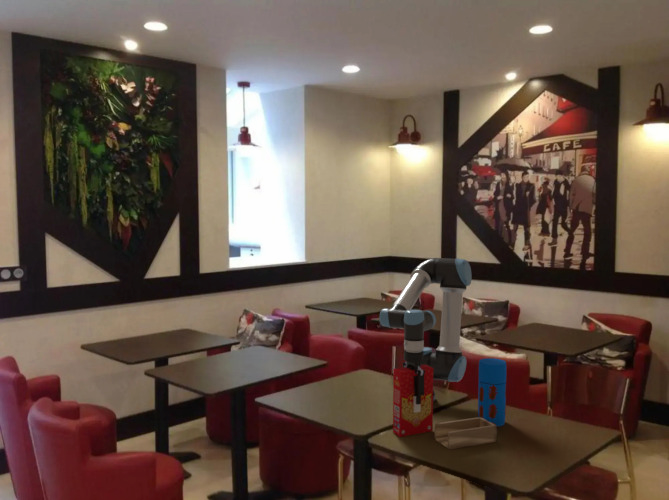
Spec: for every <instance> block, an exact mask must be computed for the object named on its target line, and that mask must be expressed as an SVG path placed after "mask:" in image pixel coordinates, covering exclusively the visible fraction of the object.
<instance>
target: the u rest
mask: <svg viewBox="0 0 669 500" xmlns="http://www.w3.org/2000/svg"><path fill="white" fill-rule="evenodd" d="M497 434H498V426H496V425H495V424H493V423H491V422H489V421H487V420H485V419H483V418H482V417H478V416H477V417H472V418H471V417H470V418H464V419H457V420H449V421H442V422H435V423H434V439H433V440H435V441H437V443H439V444H441V445H442V446H444V447H446V448H447V449H448V450H453V449H459V448H465V447H471V446H480V445H485V444H490V443H495V442H496V443H497V441H498V438H497V437H498V435H497Z"/></svg>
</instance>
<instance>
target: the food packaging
mask: <svg viewBox="0 0 669 500" xmlns="http://www.w3.org/2000/svg"><path fill="white" fill-rule="evenodd" d="M421 369H422V370H425V375H424V395H421V412H416V413H414V412H413V404H414V396H413V395H415V392H414V378H413V377H414V376H417V374H415V372H414V370H410V368H407V367H404V368H403V367H396V368H393V373H392V374H393V378H392V379H393V381H392V382H393V385H392V387H393V388H392V389H393V390H392V391H393V392H392V393H393V394H392V396H393V397H392V400H393V401H392V402H393V403H392V407H393V408H392V433H393V434H394V435H396V436H398V437H400V438H401V437H406V436H407V437H408V436H413V435H418V434H425V433H429V432H433V429H434V428H433V427H434V426H433V425H434V422H433V421H434V420H433V418H434V402H433V389H434V379H433V368H432V367H430V366H428V365H421Z"/></svg>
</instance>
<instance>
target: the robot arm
mask: <svg viewBox="0 0 669 500" xmlns="http://www.w3.org/2000/svg"><path fill="white" fill-rule="evenodd" d="M471 283H472V268H471V265H470V262H469V261H468V260H466V259H462V258H459V257H458V258H450V257H448V258H447V257H446V258H445V257H443V258H442V257H431V258H428V259H426V260H424V261H423V262H421V263H419V264H418V265H417V266H416V267H415V268H413V271H412V272H411V273H410V278H409V280H408V281H407V282H406V285H404V287H403V289H402V291H401V292H400V293H399V294H398V296H397V298H396V299H395V301H394V303H392V305H391V307H390V308H382V309H381V310H380V312H379V324H380V325H381V326H382V327H385V328H389V329H391V328H392V329H393V328H394V329H403V332H404V333H403V337H404V338H403V339H404V340H403V341H404V342H403V349H404V351H403V360H404V361H405V362H402V368H404V367H407V368H410V370H414V372H415V374H417V376H414V377H413V378H414V392H415V395H413V396H414V404H413V412H414V413H416V412H421V395H424V375H425V370H422V369H421V365H428V366H430V367H432V368H433V380H437V381H447V382H448V383H449V382H453V383H454V382H456V383H458V382H460V381H461V380H462V379H463V377H464V376H465V372H466V369H467V357H466V356H465V355H463V350H462V349H461V347H460V341H461V323H462V321H461V320H462V311H463V310H462V309H463V294H464V293H465V292H466V291H467V287H468V286H470V285H471ZM431 284H438V285H439V288H440V290H441V291H442V302H441V304H442V306H441V316H440V317H441V320H440V333H439V335H440V336H439V345H438V346H437V348H435V351H434V352H433V349H432V347H426V346H424V345H425V343H424V342H425V339H424V338H425V337H424V336H425V334H424V333H425V332H426V331H430V330H431V329H433V328H434V327H435V325H436V323H437V318H436V316H435V314H434V312H432V311H430V310H422V309H421V310H420V309H413V307H414V305H415V304H416V303H417V302H418V301H417V300H418V299H419V297H420V296H421V295H422V293H423V292H424V290H425V288H429V286H430V285H431ZM435 401H436V393H435V388H433V403H434V402H435Z"/></svg>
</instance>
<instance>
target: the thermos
mask: <svg viewBox="0 0 669 500" xmlns="http://www.w3.org/2000/svg"><path fill="white" fill-rule="evenodd" d="M477 386H478V391H477V392H478V393H477V394H478V395H477V398H478V399H477V414H478V416H477V417H482V418H483V419H485V420H487V421H489V422H491V423H493V424H495V425H496V426H497V427H502V426H505V424H506V409H507V406H506V405H507V404H506V403H507V401H506V400H507V361H506V360H503V359H500V358H489V357H488V358H481V359H479V361H478V385H477Z"/></svg>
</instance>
